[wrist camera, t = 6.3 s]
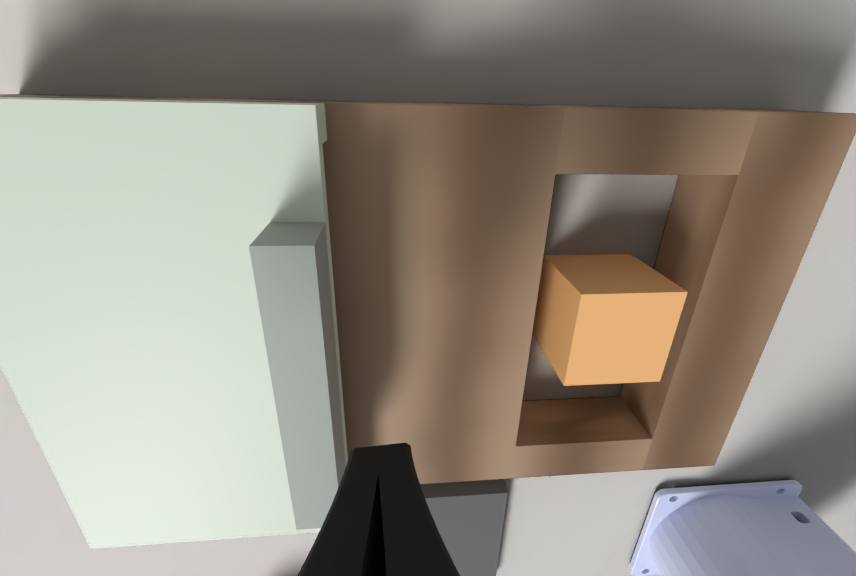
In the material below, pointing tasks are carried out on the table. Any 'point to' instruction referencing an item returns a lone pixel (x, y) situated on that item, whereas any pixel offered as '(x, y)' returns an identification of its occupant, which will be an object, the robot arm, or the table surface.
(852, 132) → the puzzle board
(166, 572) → the table surface
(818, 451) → the table surface
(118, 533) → the sliding lid
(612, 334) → the block
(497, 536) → the mat
